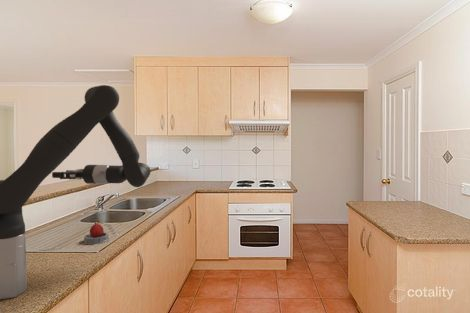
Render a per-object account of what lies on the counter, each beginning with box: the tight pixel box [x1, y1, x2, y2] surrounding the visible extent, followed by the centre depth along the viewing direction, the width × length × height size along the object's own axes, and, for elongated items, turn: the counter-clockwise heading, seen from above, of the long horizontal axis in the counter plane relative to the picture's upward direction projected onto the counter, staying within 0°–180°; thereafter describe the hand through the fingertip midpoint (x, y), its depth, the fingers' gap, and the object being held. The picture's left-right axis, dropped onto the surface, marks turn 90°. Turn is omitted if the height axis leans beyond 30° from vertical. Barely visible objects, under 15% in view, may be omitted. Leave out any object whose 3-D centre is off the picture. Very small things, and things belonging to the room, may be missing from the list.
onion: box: [89, 221, 105, 238], centre depth 145 cm, size 6×6×8 cm
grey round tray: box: [83, 231, 110, 245], centre depth 146 cm, size 10×10×2 cm
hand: (59, 173), depth 128 cm, fingers open, 8 cm apart
